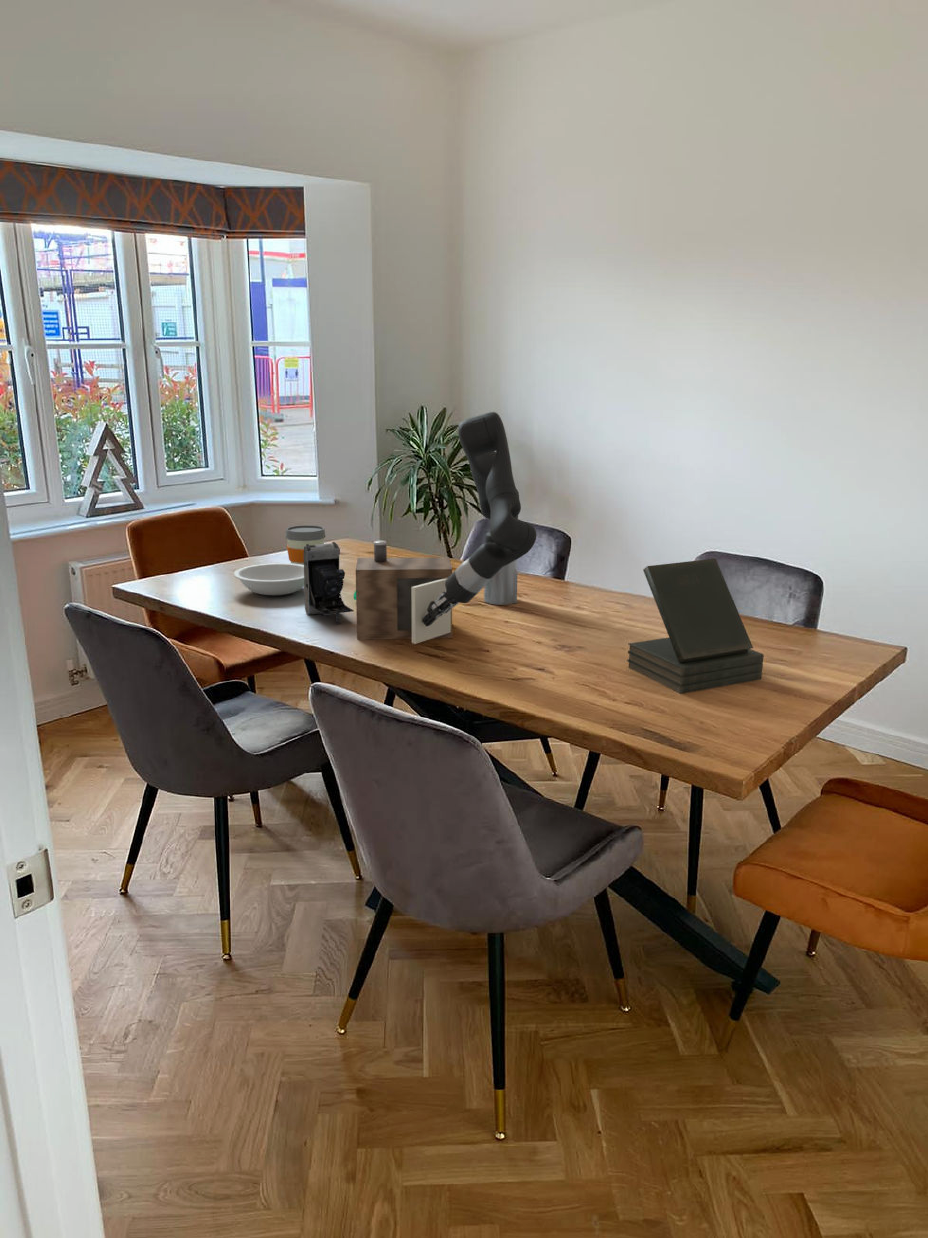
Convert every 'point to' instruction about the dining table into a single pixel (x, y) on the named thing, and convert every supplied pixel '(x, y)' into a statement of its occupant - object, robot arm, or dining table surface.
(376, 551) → the film canister
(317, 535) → the reusable coffee cup
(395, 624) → the walnut box
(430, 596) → the side door
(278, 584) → the soup bowl
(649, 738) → the dining table surface
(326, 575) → the vintage camera
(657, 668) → the stack of books
